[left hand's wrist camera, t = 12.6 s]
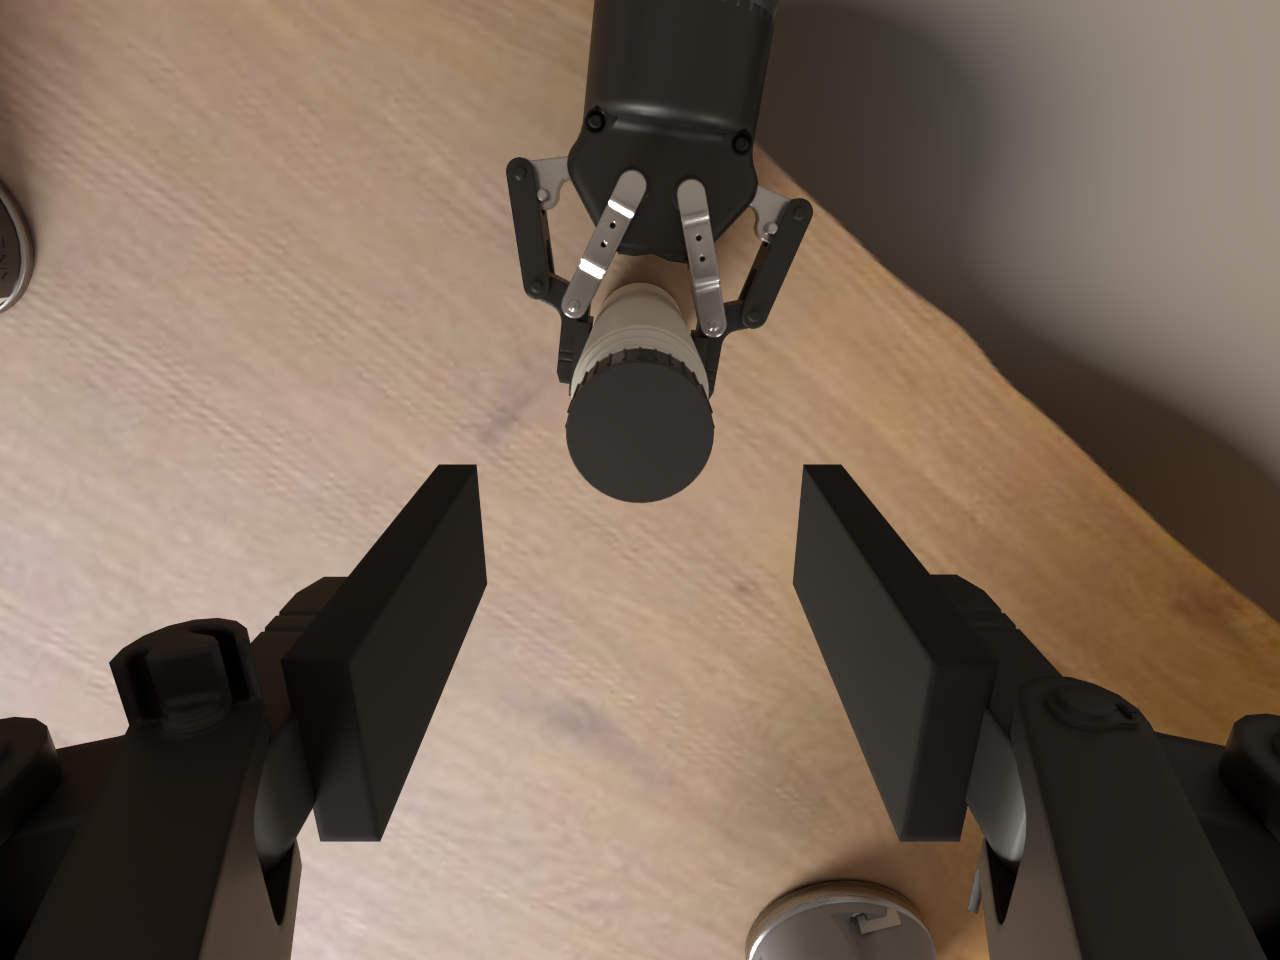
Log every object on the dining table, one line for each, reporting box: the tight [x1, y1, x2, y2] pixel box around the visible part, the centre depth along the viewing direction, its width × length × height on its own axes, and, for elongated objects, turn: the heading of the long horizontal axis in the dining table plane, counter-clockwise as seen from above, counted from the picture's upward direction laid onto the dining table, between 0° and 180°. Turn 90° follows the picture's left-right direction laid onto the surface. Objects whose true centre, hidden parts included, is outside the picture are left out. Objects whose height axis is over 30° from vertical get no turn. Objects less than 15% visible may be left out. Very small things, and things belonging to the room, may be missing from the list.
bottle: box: [571, 283, 709, 399], centre depth 30 cm, size 5×5×21 cm
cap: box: [565, 347, 715, 503], centre depth 21 cm, size 4×4×2 cm
